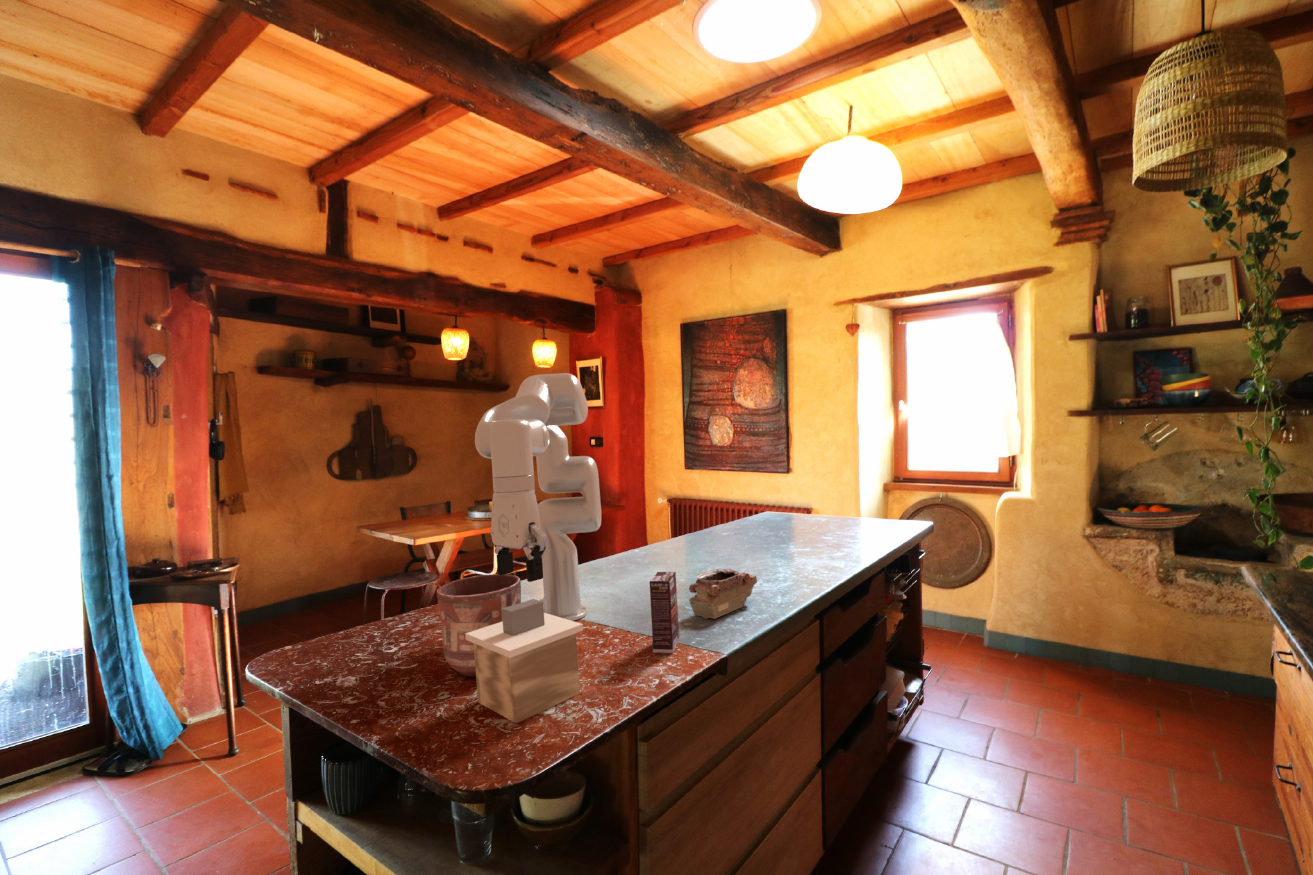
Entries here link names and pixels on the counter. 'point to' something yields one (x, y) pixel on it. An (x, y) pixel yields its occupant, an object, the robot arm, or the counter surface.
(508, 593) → the pottery
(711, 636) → the counter surface
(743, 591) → the decorative box
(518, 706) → the box
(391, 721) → the counter surface
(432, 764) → the counter surface
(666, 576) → the supplement box
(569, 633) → the lid
